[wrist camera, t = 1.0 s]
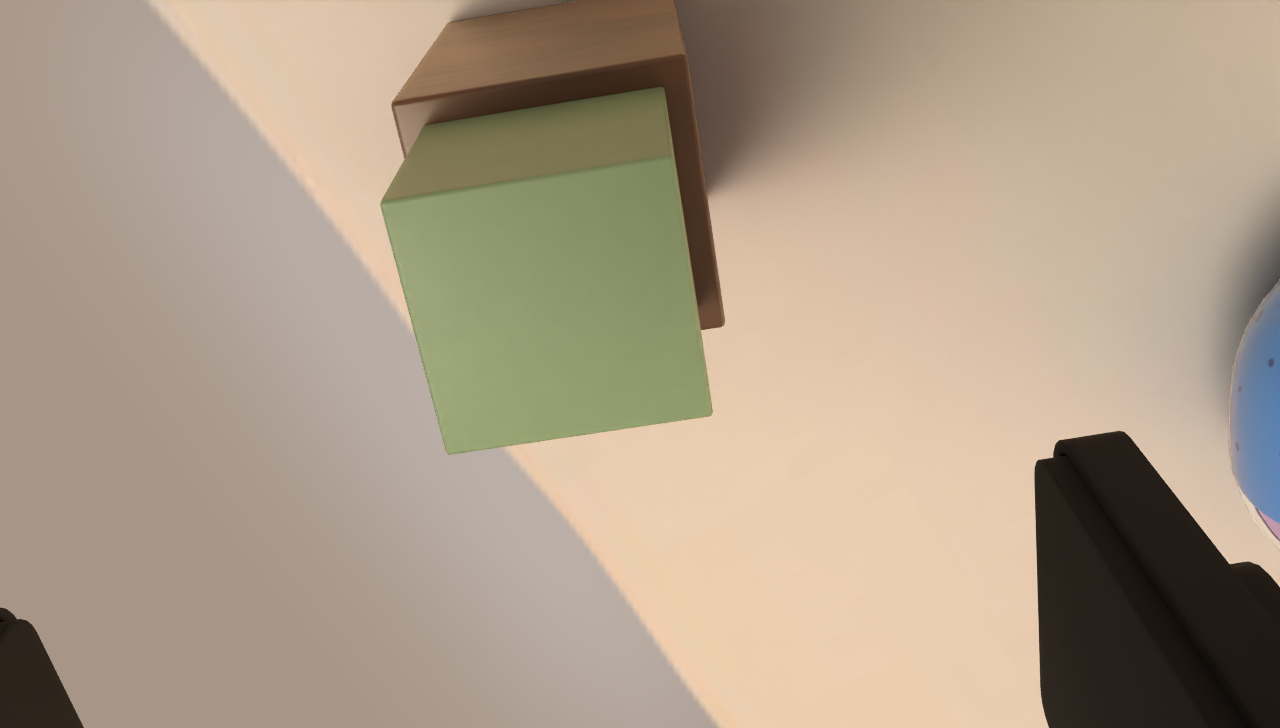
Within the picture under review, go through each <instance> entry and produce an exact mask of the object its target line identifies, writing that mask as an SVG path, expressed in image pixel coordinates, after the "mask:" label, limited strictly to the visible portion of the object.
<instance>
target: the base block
mask: <svg viewBox="0 0 1280 728" xmlns="http://www.w3.org/2000/svg"><path fill="white" fill-rule="evenodd" d="M656 87H663V88H664V90H665V97H666V103H667V110H668V116H669V123H670V130H671V136H672V143H673V149H674V156H675V162H676V169H677V176H678V182H679V189H680V195H681V202H682V208H683V215H684V221H685V228H686V235H687V241H688V248H689V254H690V261H691V267H692V274H693V281H694V287H695V294H696V300H697V307H698V314H699V321H700V328H701V330H705V329H711V328H718V327H722V326H724V324H725V318H724V311H723V304H722V296H721V289H720V282H719V275H718V268H717V261H716V254H715V247H714V240H713V233H712V226H711V219H710V212H709V205H708V198H707V191H706V184H705V177H704V170H703V163H702V156H701V149H700V142H699V135H698V128H697V121H696V114H695V107H694V100H693V93H692V86H691V78H690V71H689V64H688V58H687V53H686V49H685V45H684V41H683V36H682V32H681V28H680V24H679V19H678V15H677V11H676V7H675V2H674V0H580V1H574V2H568V3H562V4H556V5H550V6H544V7H539V8H533V9H527V10H521V11H515V12H509V13H503V14H497V15H491V16H485V17H479V18H473V19H467V20H461V21H455V22H450V23H448V24H447V25H446V26H445V28H444V29H443V31H442V32H441V33H440V35H439V36H438V38H437V39H436V41H435V42H434V43H433V45H432V46H431V48H430V49H429V51H428V52H427V53H426V55H425V56H424V58H423V59H422V61H421V62H420V63H419V65H418V66H417V68H416V69H415V71H414V72H413V73H412V75H411V76H410V78H409V79H408V81H407V82H406V83H405V85H404V86H403V88H402V89H401V91H400V92H399V93H398V95H397V96H396V98H395V99H394V101H393V102H392V106H391V107H392V111H393V115H394V118H395V122H396V126H397V130H398V134H399V138H400V142H401V146H402V150H403V154H404V158H406V156H407V155H408V153H409V151H410V149H411V147H412V146H413V144H414V142H415V140H416V139H417V137H418V135H419V133H420V132H421V130H422V128H423V127H424V126H425V125H430V124H436V123H442V122H448V121H454V120H460V119H466V118H472V117H479V116H485V115H491V114H497V113H503V112H509V111H515V110H521V109H527V108H534V107H540V106H546V105H552V104H558V103H564V102H570V101H576V100H582V99H588V98H595V97H601V96H607V95H613V94H619V93H625V92H631V91H637V90H643V89H650V88H656Z"/></svg>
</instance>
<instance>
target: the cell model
mask: <svg viewBox="0 0 1280 728" xmlns="http://www.w3.org/2000/svg"><path fill="white" fill-rule="evenodd" d="M1228 441H1229V451H1230V459H1231V469H1232V472H1233V475H1234V477H1235V480H1236V483H1237V485H1238V488H1239V491H1240V493H1241V496H1242V498H1243V500H1244V502H1245V504H1246V506H1247V508H1248V510H1249V512H1250V514H1251V516H1252V518H1253V519H1254V521H1255V522H1256V523H1257V525H1258V526H1259V527H1260V529H1261V530H1262V532H1263V533H1264V534H1265V536H1266V537H1267V538H1268V539H1269V540H1270V541H1271V542H1272V543H1273V544H1274V545H1275V546H1276V547H1277V548H1278V549H1279V550H1280V279H1279V280H1278V282H1277V283H1276V284H1275V285H1274V286H1273V288H1272V289H1271V290H1270V291H1269V292H1268V294H1267V295H1266V296H1265V297H1264V298H1263V300H1262V301H1261V302H1260V304H1259V306H1258V307H1257V309H1256V310H1255V312H1254V314H1253V315H1252V317H1251V318H1250V320H1249V322H1248V323H1247V325H1246V328H1245V330H1244V332H1243V335H1242V337H1241V339H1240V342H1239V344H1238V348H1237V352H1236V355H1235V359H1234V363H1233V367H1232V372H1231V380H1230V388H1229V406H1228Z"/></svg>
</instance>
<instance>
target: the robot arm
mask: <svg viewBox="0 0 1280 728" xmlns="http://www.w3.org/2000/svg"><path fill="white" fill-rule="evenodd" d="M1035 511H1036V546H1037V581H1038V616H1039V651H1040V686H1041V697H1042V703H1043V708H1044V712H1045V716H1046V720H1047V723H1048V726H1049V728H1280V587H1279V586H1278V584H1277V583H1276V582H1275V581H1274V580H1273V578H1272V577H1271V576H1270V575H1269V574H1268V573H1267V572H1266V571H1265V570H1264V569H1262V568H1261V567H1260V566H1259V565H1257V564H1254V563H1251V562H1242V563H1235V564H1229V563H1228V562H1227V561H1226V559H1225V558H1224V557H1223V556H1222V554H1221V553H1220V552H1219V550H1218V549H1217V548H1216V547H1215V545H1214V544H1213V543H1212V542H1211V540H1210V539H1209V538H1208V536H1207V535H1206V534H1205V533H1204V531H1203V530H1202V529H1201V527H1200V526H1199V525H1198V524H1197V522H1196V521H1195V520H1194V518H1193V517H1192V516H1191V515H1190V513H1189V512H1188V511H1187V510H1186V508H1185V507H1184V506H1183V504H1182V503H1181V502H1180V501H1179V499H1178V498H1177V497H1176V495H1175V494H1174V493H1173V492H1172V490H1171V489H1170V488H1169V487H1168V485H1167V484H1166V483H1165V481H1164V480H1163V479H1162V478H1161V476H1160V475H1159V474H1158V472H1157V471H1156V470H1155V469H1154V467H1153V466H1152V465H1151V464H1150V462H1149V461H1148V460H1147V458H1146V457H1145V456H1144V455H1143V453H1142V452H1141V451H1140V449H1139V448H1138V447H1137V446H1136V444H1135V443H1134V442H1133V441H1132V439H1131V438H1130V437H1129V436H1128V435H1127V434H1126V433H1125V432H1122V431H1116V432H1110V433H1103V434H1097V435H1091V436H1084V437H1078V438H1071V439H1065V440H1059V441H1058V442H1057V443H1056V445H1055V448H1054V454H1053V458H1048V459H1042V460H1038V461H1037V462H1036V466H1035ZM0 728H84V727H83V725H82V723H81V721H80V719H79V717H78V715H77V713H76V711H75V709H74V707H73V705H72V703H71V701H70V699H69V697H68V695H67V693H66V691H65V689H64V687H63V685H62V683H61V681H60V679H59V676H58V675H57V672H56V671H55V668H54V666H53V664H52V662H51V660H50V658H49V656H48V654H47V652H46V650H45V648H44V646H43V644H42V642H41V640H40V638H39V636H38V634H37V632H36V630H35V629H34V627H33V626H32V624H30V623H29V622H28V621H26V620H22V619H18V620H17V619H16V617H15V616H14V615H13V614H12V613H11V612H10V611H8V610H7V609H5V608H0Z"/></svg>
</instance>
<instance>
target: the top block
mask: <svg viewBox="0 0 1280 728" xmlns="http://www.w3.org/2000/svg"><path fill="white" fill-rule="evenodd" d="M381 209H382V213H383V217H384V220H385V224H386V228H387V232H388V235H389V239H390V243H391V247H392V250H393V254H394V258H395V262H396V265H397V269H398V273H399V277H400V280H401V284H402V288H403V292H404V295H405V299H406V303H407V307H408V310H409V314H410V318H411V322H412V325H413V329H414V333H415V337H416V340H417V344H418V348H419V352H420V355H421V359H422V363H423V367H424V370H425V374H426V378H427V382H428V385H429V389H430V393H431V397H432V400H433V404H434V408H435V412H436V415H437V419H438V423H439V426H440V430H441V434H442V438H443V442H444V445H445V449H446V452H447V453H448V454H450V455H451V454H457V453H464V452H471V451H477V450H484V449H491V448H498V447H505V446H512V445H518V444H525V443H532V442H539V441H545V440H552V439H559V438H566V437H572V436H579V435H586V434H593V433H599V432H606V431H613V430H620V429H627V428H633V427H640V426H647V425H654V424H660V423H667V422H674V421H681V420H687V419H694V418H701V417H708V416H711V415H712V412H713V411H712V404H711V397H710V390H709V383H708V376H707V369H706V362H705V356H704V349H703V342H702V335H701V328H700V321H699V314H698V307H697V300H696V294H695V287H694V281H693V274H692V267H691V261H690V254H689V248H688V241H687V235H686V228H685V221H684V215H683V208H682V202H681V195H680V189H679V182H678V176H677V169H676V162H675V156H674V149H673V143H672V136H671V130H670V123H669V116H668V110H667V103H666V97H665V90H664V88H663V87H656V88H650V89H643V90H637V91H631V92H625V93H619V94H613V95H607V96H601V97H595V98H588V99H582V100H576V101H570V102H564V103H558V104H552V105H546V106H540V107H534V108H527V109H521V110H515V111H509V112H503V113H497V114H491V115H485V116H479V117H472V118H466V119H460V120H454V121H448V122H442V123H436V124H430V125H425V126H424V127H423V128H422V130H421V132H420V133H419V135H418V137H417V139H416V140H415V142H414V144H413V146H412V147H411V149H410V151H409V153H408V155H407V156H406V158H405V160H404V162H403V163H402V165H401V167H400V169H399V171H398V172H397V174H396V176H395V178H394V179H393V181H392V183H391V185H390V186H389V188H388V190H387V192H386V194H385V195H384V197H383V199H382V201H381Z"/></svg>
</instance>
